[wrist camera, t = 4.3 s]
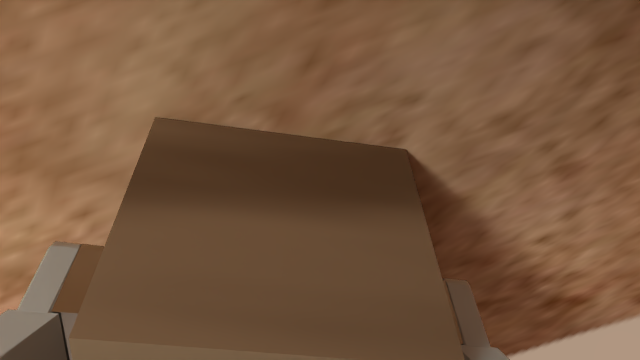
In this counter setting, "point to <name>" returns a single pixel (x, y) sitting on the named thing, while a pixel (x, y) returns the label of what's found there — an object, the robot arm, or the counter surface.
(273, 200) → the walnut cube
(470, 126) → the counter surface
